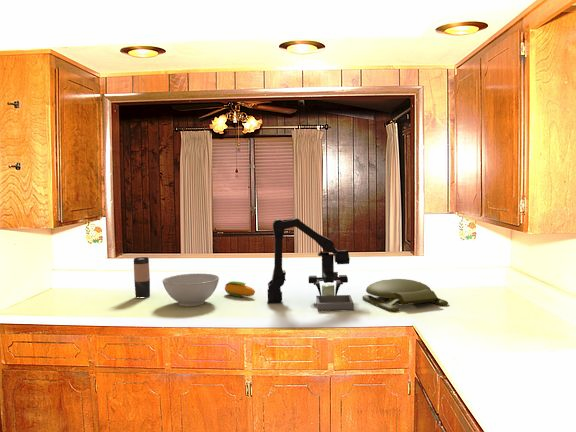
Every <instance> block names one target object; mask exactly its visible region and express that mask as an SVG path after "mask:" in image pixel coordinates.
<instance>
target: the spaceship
mask: <svg viewBox="0 0 576 432" xmlns="http://www.w3.org/2000/svg"><path fill="white" fill-rule="evenodd" d="M365 291H366V293H367V294H366V295H363V296H362V297H361V298H362V300H364V301H365V302H367V301H368V302H367V303H370V304H372V305H375V306H376V305H377V307H378V308H381V309H383V310H385V309H386V311H388V312H390V311H391V312H392V313H396V311H397V312H398V311H400V308H399V307H398V306H396V304H397V305H400V306H405V305H413V304H423V303H432V304H434V305H438V306H440V307H445V306H448V305H449V302H448V301H447V300H445V299H441V298H440V297H438V296H437V294H436V293H435V291H434V290H432V289H431V287H430V286H429V285H427V284H424V283H423V282H421V281H417V280H414V279H413V280H412V279H408V278H392V279H381V280H378V281H375V282H373V283H371V284H369V285H367V287H366V289H365ZM377 297H378V298H377ZM380 298H387V299H388V300H387V301H385V300H382V299H380ZM391 312H390V313H391Z"/></svg>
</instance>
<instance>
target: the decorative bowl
mask: <svg viewBox="0 0 576 432" xmlns="http://www.w3.org/2000/svg"><path fill="white" fill-rule="evenodd" d="M219 280H220V277H219V276H218V275H217V274H212V273H184V274H183V273H182V274H176V275H171V276H168V277H167V276H166V277H165V278H163V279H162V284H163V287H164V290H165V291H166V292H167V294H168V295H169V297H170V298H172V300H174V301H175V302H177V303H178V305H179V306H182V307H195V306H196V305H197V306H201V305H203V303H204V304H205V303H206V300H208V299H209V298H210V297H211V296H212V295H213V294H214V293H215V291H216V289H217V287H218V284H219Z"/></svg>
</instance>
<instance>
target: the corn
mask: <svg viewBox="0 0 576 432" xmlns="http://www.w3.org/2000/svg"><path fill="white" fill-rule="evenodd" d="M224 291H225V292H226V293H227V295H230V296H234V297H239V298H243V297H252V296H254V295H255V293H256V290H255V289H254V288H252V287H251V286H248V285H246V283H245V282H241V281H229V282H227V283H226V284H225V285H224Z"/></svg>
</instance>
